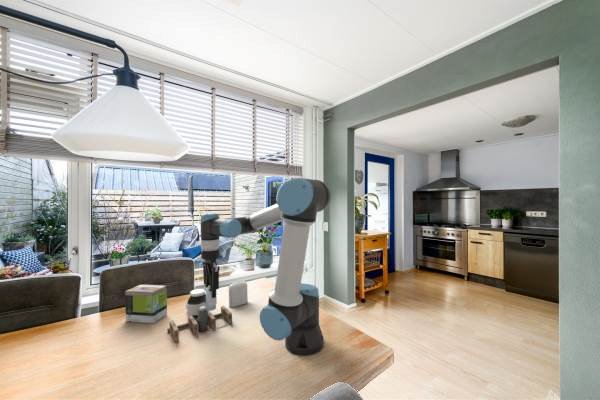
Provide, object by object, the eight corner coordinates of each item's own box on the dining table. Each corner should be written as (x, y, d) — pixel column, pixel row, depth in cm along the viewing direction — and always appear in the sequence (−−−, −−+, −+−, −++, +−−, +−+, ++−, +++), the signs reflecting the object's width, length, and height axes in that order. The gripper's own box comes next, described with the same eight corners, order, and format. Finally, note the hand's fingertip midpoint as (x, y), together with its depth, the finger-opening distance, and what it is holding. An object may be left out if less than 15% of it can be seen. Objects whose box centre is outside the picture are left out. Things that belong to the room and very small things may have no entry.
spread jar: (199, 319, 119) (198, 295, 119) (177, 318, 121) (177, 294, 120) (212, 308, 130) (212, 286, 130) (192, 307, 132) (192, 285, 132)
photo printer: (230, 308, 130) (230, 285, 130) (227, 305, 134) (227, 282, 134) (248, 303, 137) (248, 280, 137) (245, 300, 140) (245, 279, 140)
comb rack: (233, 323, 115) (233, 312, 115) (172, 343, 99) (172, 331, 99) (224, 314, 123) (224, 304, 123) (167, 332, 108) (167, 320, 108)
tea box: (167, 314, 125) (167, 284, 125) (152, 324, 115) (152, 292, 115) (141, 312, 127) (141, 283, 127) (124, 321, 118) (124, 290, 117)
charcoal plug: (209, 330, 109) (209, 307, 109) (199, 333, 107) (199, 310, 106) (206, 326, 112) (206, 304, 112) (197, 329, 110) (196, 307, 110)
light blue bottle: (217, 308, 107) (217, 285, 107) (208, 311, 105) (208, 287, 105) (213, 305, 110) (213, 283, 110) (204, 308, 108) (204, 285, 108)
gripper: (226, 250, 104) (227, 306, 104) (211, 245, 116) (212, 295, 116) (208, 253, 99) (209, 312, 99) (195, 247, 111) (195, 299, 112)
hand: (211, 303), depth 108 cm, fingers closed on light blue bottle, 3 cm apart
